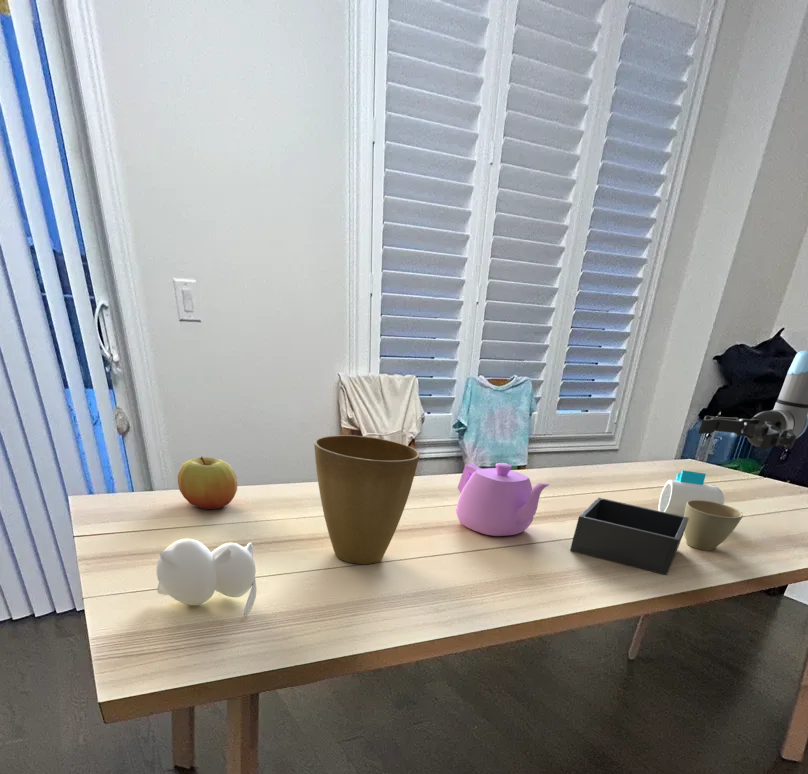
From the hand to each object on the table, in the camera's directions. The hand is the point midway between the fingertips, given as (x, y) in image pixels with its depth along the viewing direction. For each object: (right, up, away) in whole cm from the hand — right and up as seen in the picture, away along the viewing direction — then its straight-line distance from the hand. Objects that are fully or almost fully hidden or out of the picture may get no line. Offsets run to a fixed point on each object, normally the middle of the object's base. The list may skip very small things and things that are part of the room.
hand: (732, 434), depth 134 cm
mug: (-9, -16, +3) cm, 19 cm away
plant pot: (-77, -35, -36) cm, 92 cm away
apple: (-104, -23, -24) cm, 109 cm away
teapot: (-53, -26, -18) cm, 62 cm away
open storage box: (-30, -30, -20) cm, 47 cm away
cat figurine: (-94, -46, -55) cm, 118 cm away
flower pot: (-13, -28, -13) cm, 33 cm away
